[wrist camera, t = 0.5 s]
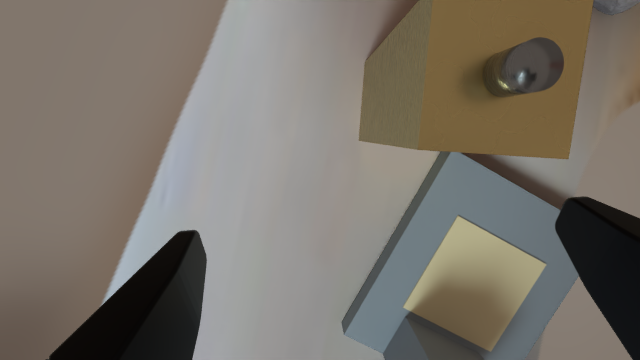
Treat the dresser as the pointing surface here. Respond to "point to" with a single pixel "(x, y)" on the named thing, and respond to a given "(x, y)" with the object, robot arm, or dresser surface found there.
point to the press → (464, 271)
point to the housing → (479, 77)
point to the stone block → (614, 5)
